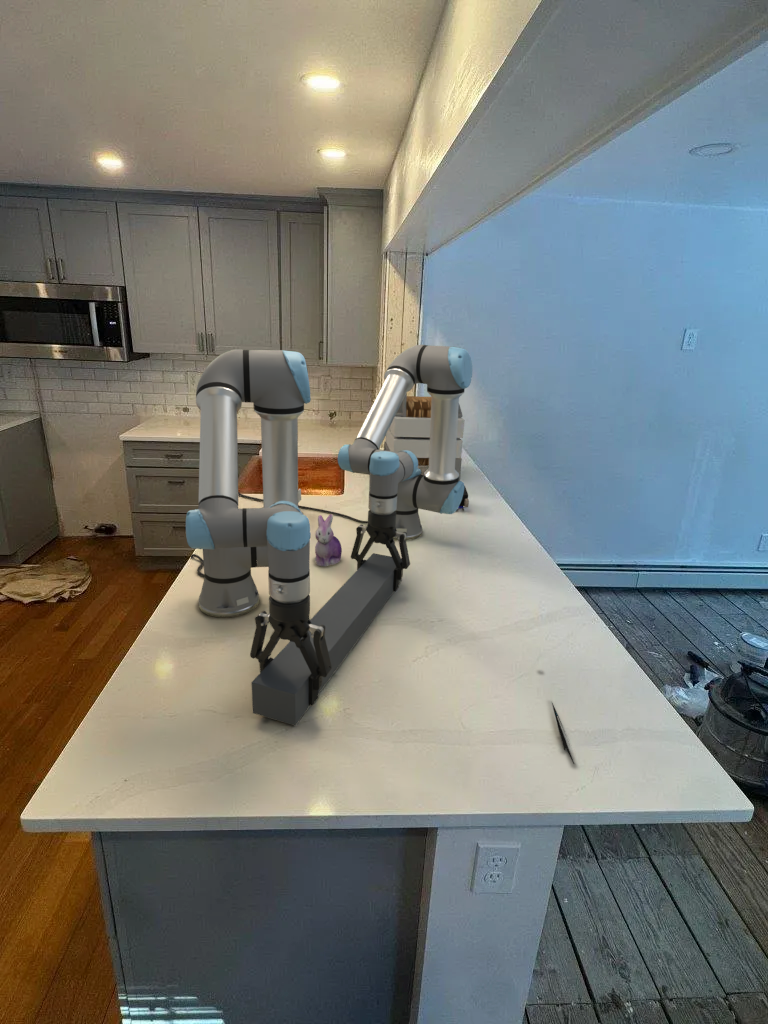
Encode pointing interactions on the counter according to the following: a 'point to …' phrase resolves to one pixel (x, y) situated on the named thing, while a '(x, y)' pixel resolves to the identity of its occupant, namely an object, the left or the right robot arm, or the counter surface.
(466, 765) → the counter surface
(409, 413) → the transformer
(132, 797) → the counter surface
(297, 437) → the left robot arm
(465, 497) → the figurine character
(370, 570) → the thick board
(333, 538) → the figurine
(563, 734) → the feather
